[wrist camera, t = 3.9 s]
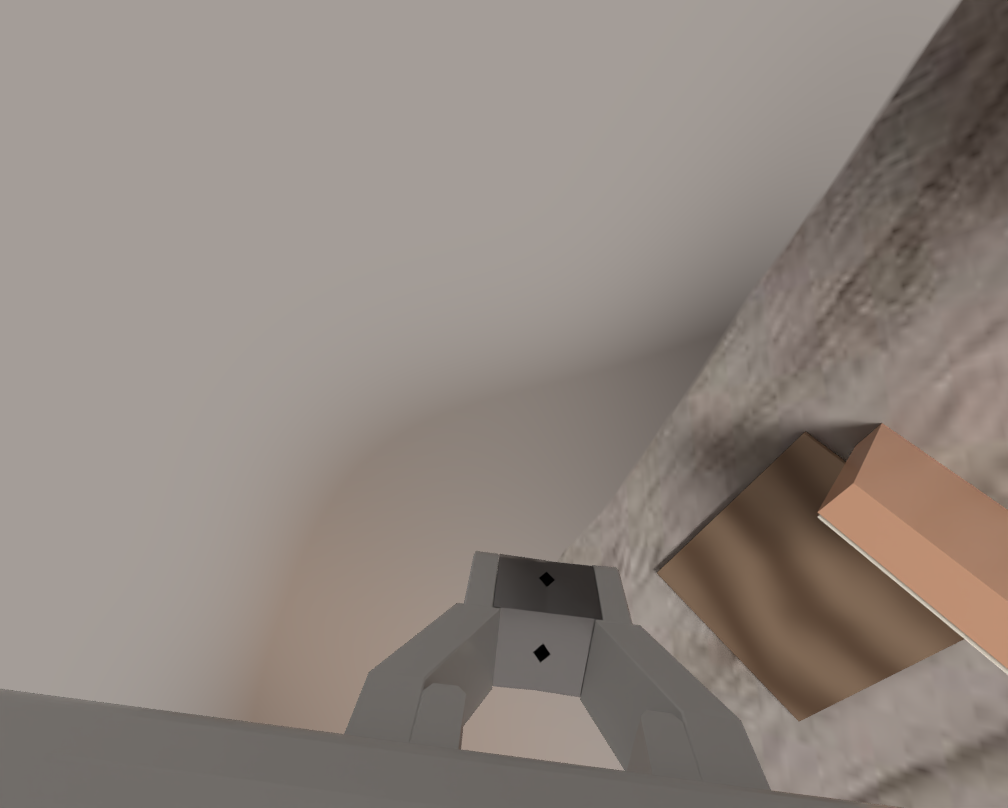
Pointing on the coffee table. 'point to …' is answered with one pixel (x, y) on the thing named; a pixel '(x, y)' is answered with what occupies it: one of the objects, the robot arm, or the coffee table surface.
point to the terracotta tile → (927, 535)
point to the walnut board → (801, 590)
